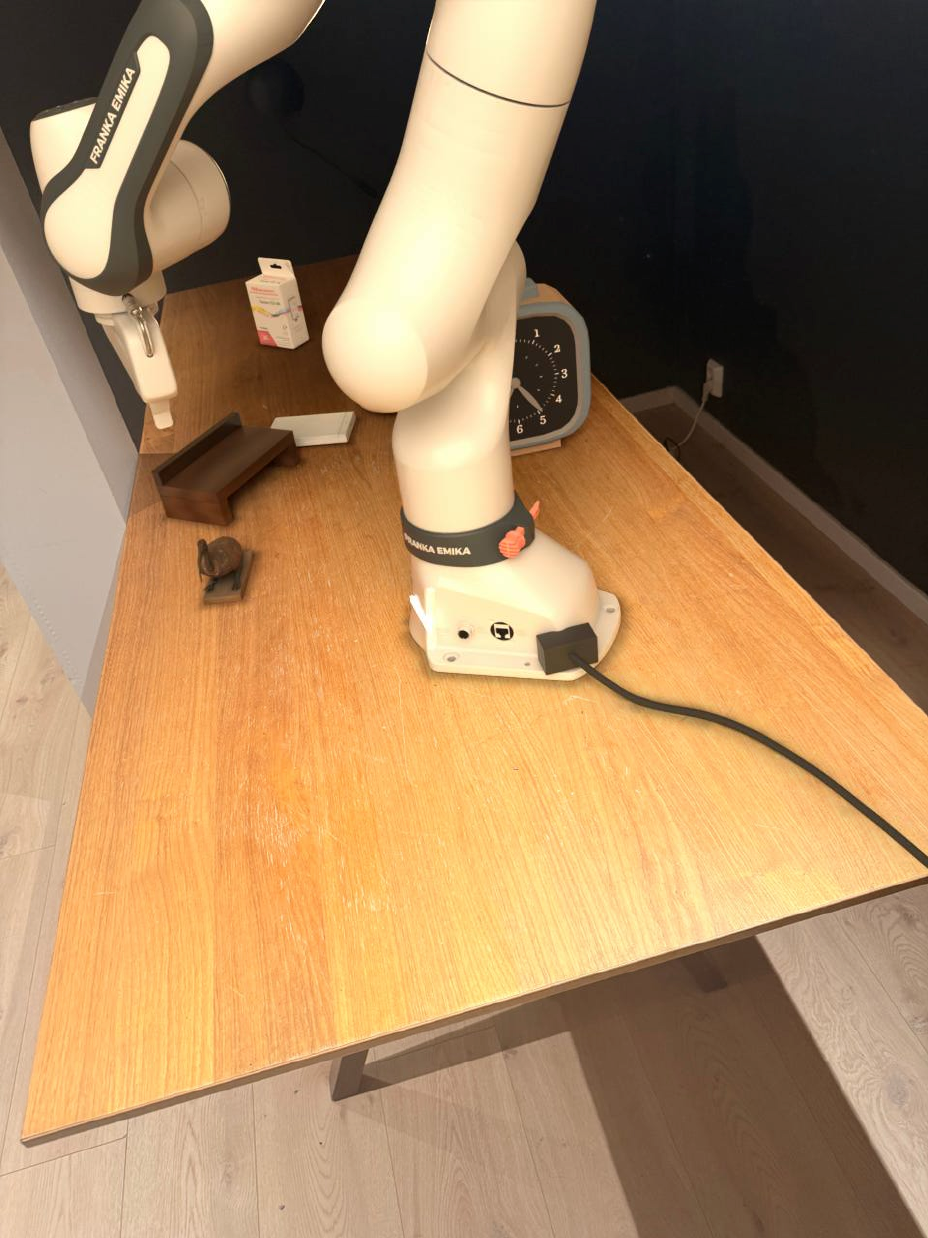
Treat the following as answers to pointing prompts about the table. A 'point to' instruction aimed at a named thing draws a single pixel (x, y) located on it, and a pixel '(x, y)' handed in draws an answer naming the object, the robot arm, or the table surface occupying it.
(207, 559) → the figurine
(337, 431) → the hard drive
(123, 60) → the robot arm
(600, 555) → the table surface
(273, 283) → the ink cartridge box
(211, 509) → the shelf
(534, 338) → the alarm clock
